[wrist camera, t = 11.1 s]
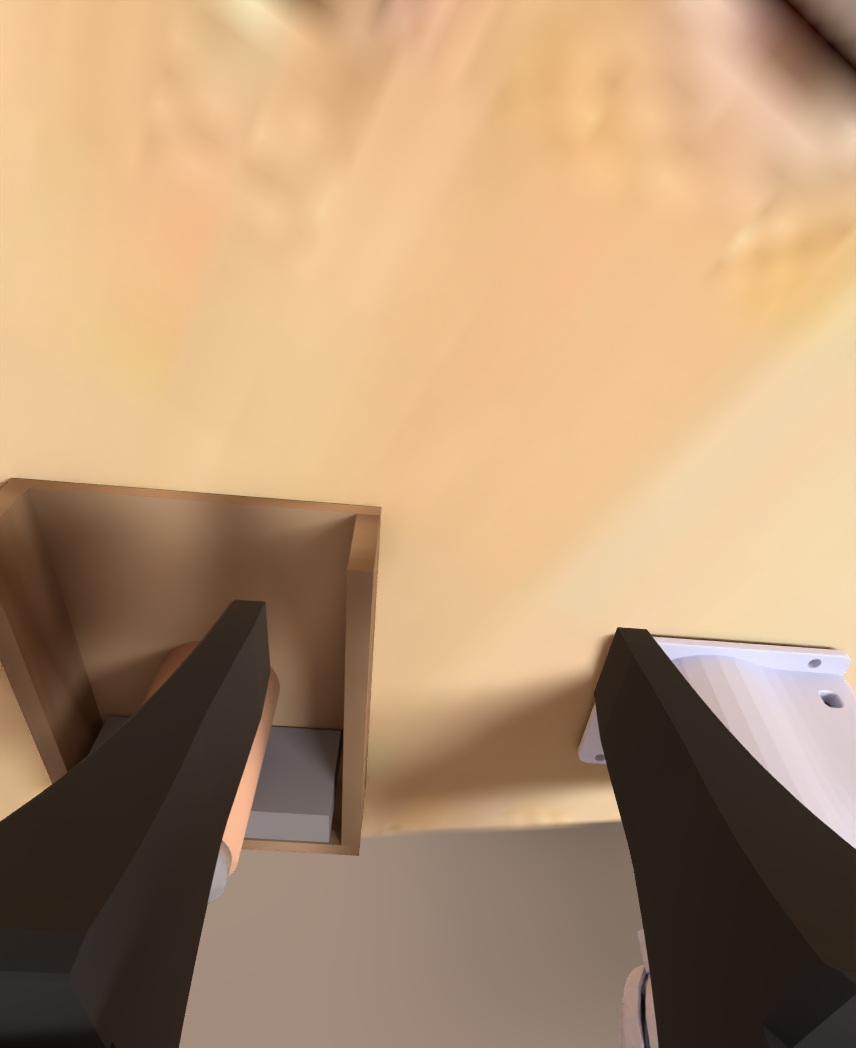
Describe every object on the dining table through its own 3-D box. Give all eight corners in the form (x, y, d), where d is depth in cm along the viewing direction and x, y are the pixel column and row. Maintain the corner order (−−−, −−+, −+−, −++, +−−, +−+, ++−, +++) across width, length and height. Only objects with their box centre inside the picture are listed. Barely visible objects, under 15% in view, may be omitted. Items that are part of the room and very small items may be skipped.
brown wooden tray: (381, 507, 23) (373, 571, 20) (365, 785, 33) (358, 855, 30) (11, 477, 22) (-51, 539, 20) (108, 770, 32) (76, 839, 29)
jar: (279, 646, 26) (228, 841, 20) (280, 725, 29) (235, 917, 23) (152, 634, 26) (57, 828, 19) (165, 715, 29) (87, 907, 22)
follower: (340, 730, 29) (324, 845, 25) (340, 758, 30) (324, 871, 26) (108, 715, 29) (51, 829, 25) (116, 744, 30) (63, 857, 26)
